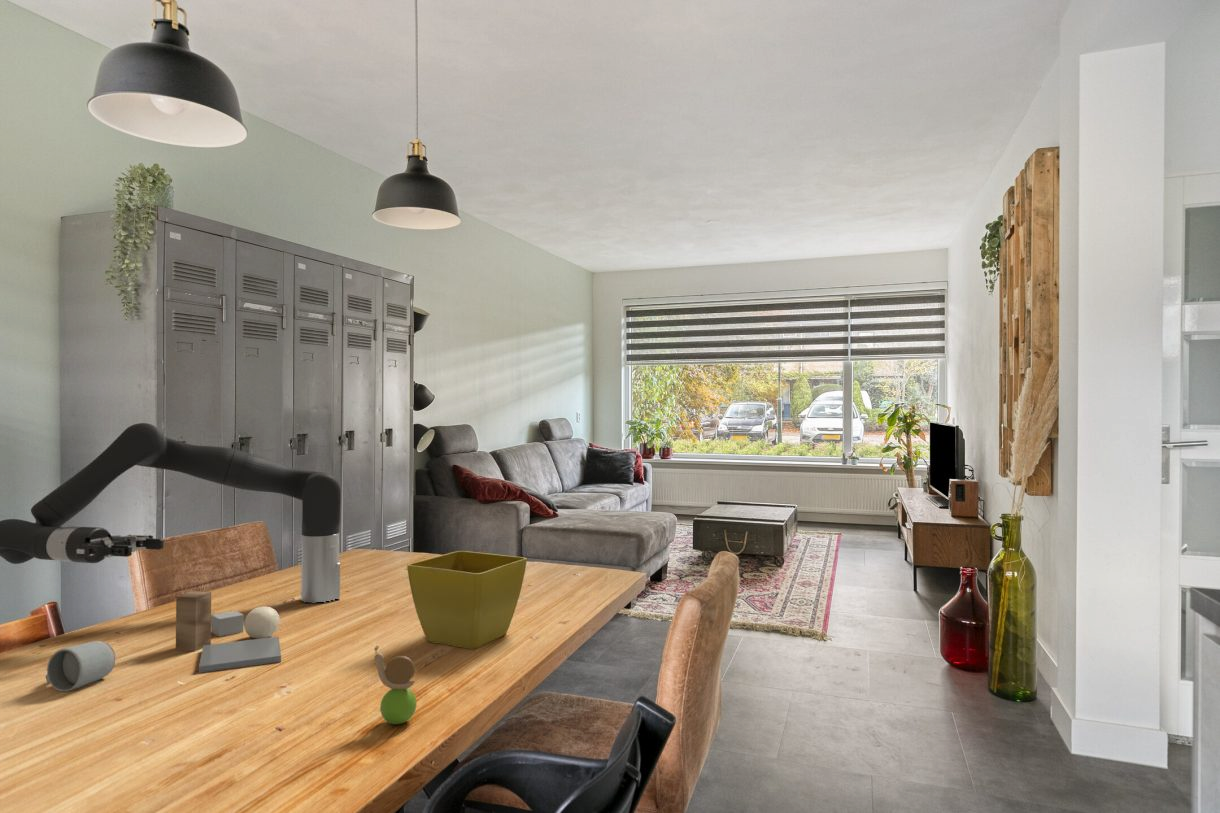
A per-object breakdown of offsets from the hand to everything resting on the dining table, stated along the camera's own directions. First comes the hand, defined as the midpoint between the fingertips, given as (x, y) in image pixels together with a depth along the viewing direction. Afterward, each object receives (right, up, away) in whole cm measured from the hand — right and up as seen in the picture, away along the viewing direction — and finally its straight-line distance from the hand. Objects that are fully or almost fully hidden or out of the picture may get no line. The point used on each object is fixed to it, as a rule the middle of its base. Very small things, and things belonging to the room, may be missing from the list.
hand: (146, 547), depth 152 cm
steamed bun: (+22, -21, +5) cm, 31 cm away
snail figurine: (+64, -20, -39) cm, 78 cm away
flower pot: (+67, -21, +4) cm, 70 cm away
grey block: (+12, -21, +9) cm, 26 cm away
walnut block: (+11, -20, -2) cm, 23 cm away
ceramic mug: (+2, -20, -23) cm, 31 cm away
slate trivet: (+24, -20, -8) cm, 32 cm away
